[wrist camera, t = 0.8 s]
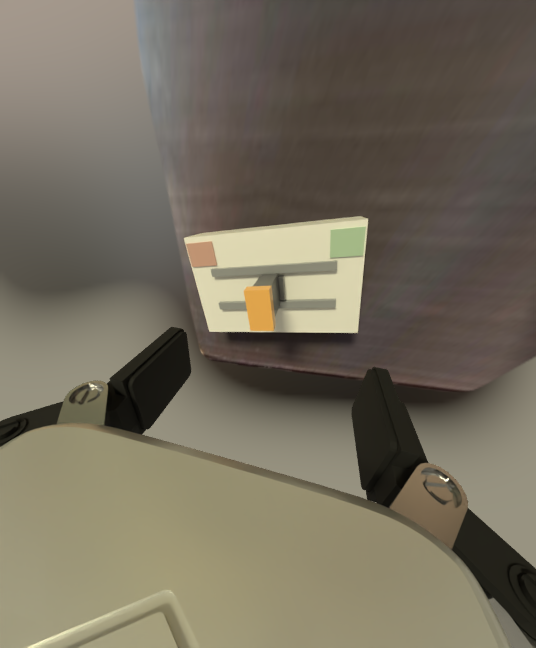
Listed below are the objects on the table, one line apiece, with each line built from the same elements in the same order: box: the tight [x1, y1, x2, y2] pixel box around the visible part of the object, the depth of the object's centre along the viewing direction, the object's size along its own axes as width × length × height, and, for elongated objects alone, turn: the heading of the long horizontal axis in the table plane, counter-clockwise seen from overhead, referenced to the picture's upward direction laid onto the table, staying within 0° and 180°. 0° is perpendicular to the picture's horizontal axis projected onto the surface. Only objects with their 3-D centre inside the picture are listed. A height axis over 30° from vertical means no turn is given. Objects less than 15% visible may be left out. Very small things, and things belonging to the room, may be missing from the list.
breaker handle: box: [244, 274, 286, 331], centre depth 26 cm, size 3×5×8 cm
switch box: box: [184, 216, 368, 333], centre depth 31 cm, size 22×14×6 cm, turn 96°
